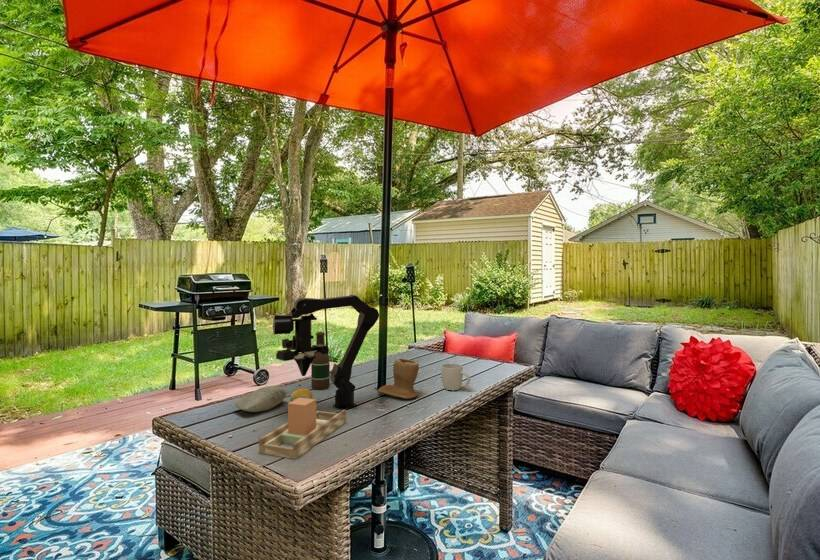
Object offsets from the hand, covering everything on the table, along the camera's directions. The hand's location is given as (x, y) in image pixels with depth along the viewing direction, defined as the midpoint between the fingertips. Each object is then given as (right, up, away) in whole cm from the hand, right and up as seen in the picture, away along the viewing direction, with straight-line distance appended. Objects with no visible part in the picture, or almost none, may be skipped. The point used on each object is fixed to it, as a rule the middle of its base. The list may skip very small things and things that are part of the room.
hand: (303, 375), depth 157 cm
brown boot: (+35, -13, +20) cm, 42 cm away
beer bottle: (0, -12, +31) cm, 33 cm away
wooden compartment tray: (+6, -14, -22) cm, 27 cm away
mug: (+58, -12, +28) cm, 66 cm away
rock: (-16, -13, +4) cm, 21 cm away
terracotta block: (+6, -11, -24) cm, 27 cm away
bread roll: (-4, -13, +15) cm, 21 cm away
